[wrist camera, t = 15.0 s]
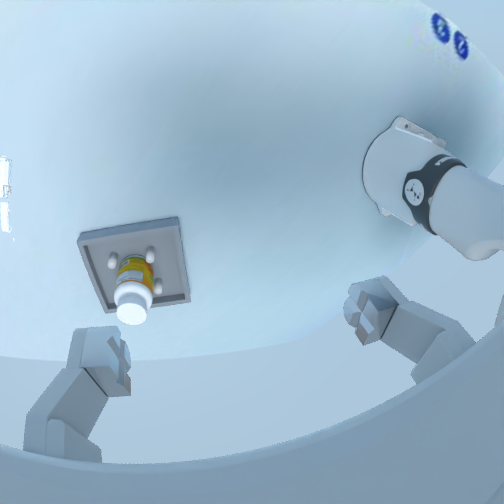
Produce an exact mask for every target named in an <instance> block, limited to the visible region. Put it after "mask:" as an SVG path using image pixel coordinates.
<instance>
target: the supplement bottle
mask: <svg viewBox="0 0 504 504" xmlns="http://www.w3.org/2000/svg"><path fill="white" fill-rule="evenodd" d="M152 299H153V266H152V264H151V263H147V262H146V258H145V257H143V256H139V255H132V256H128V257H126V258H125V259H124V260H123V261H122V262H121V264H120V267H119V271H118V276H117V281H116V286H115V291H114V301H115V304H116V305H117V316H118V318H119V319H120V320H121V321H122V322H124V323H126V324H129V325H138V324H141V323H143V322H144V321H145V319H146V317H147V310H148V309H149V308H150V307H151V305H152Z"/></svg>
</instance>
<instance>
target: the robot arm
mask: <svg viewBox="0 0 504 504" xmlns="http://www.w3.org/2000/svg"><path fill="white" fill-rule="evenodd" d="M446 143H447V142H446V141H445V140H443V139H441V138H439V137H436V136H435V135H433V134H431V133H430V132H428V131H426V130H425V129H423V128H421V127H419V126H417V125H416V124H414V123H412V122H410V121H408V120H406V119H405V118H402V117H397V118H396V119H395V120H394V122H393V123H392V125H391V127H390V128H389V129H388V130H386V131H385V132H383V133H382V134H381V135H379V136H378V137H377V138H376V139H375V141H374V142H373V143H372V145H371V146H370V148H369V150H368V152H367V155H366V158H365V161H364V166H363V182H364V186H365V189H366V192H367V193H368V195H369V196H370V198H371V199H372V200H374V201H375V202H376V203H377V205H378V209H379V211H380V213H381V214H382V215H384V216H389V215H394V216H396V217H397V218H399V219H401V220H402V221H404V222H405V223H407V224H409V225H411V226H414V225H417V224H419V225H421V227H422V228H423V229H425V230H426V231H429V232H430V233H432V234H433V235H439V236H440V237H441V238H442V239H444V240H445V241H446V242H447V243H449V244H450V245H451V246H452V247H453V248H455V249H456V250H457V251H458V252H460V253H461V254H462V255H463V256H464V257H465V258H467V259H469V260H473V261H479V260H484V259H487V258H489V257H491V256H492V255H493V254H495V253H496V252H498V251H499V250H503V251H504V186H503V185H501V184H498V183H496V182H494V181H492V180H490V179H488V178H486V177H484V176H481V175H480V174H478V173H475V172H473V171H472V170H470V169H468V168H467V167H466V166H465V165H464V164H463V163H462V162H460V161H459V160H458V159H456V158H455V156H454V155H452V154H451V153H449V152H447V151H446V150H445V146H446ZM348 294H349V295H350V296H349V297H348V298H347V300H346V301H345V303H344V307H343V310H344V316H345V318H346V321H347V322H348V324H349V325H351V326H353V327H355V334H356V335H357V337H358V338H359V340H360V341H361V343H362V344H363V346H364V345H366V344H369V343H372V342H375V341H378V340H381V341H382V342H384V343H385V344H387V345H388V346H390V347H391V348H393V349H395V350H396V351H398V352H399V353H401V354H402V355H404V356H405V357H407V358H409V359H410V360H412V361H413V362H415V363H416V364H417V365H416V366H415V367H414V368H413V370H412V371H411V376H412V378H413V379H414V381H415V382H416V384H417V385H415V386H413V387H412V388H410V389H408V390H406V391H404V392H403V393H401V394H399V395H397V396H395V397H394V398H392V399H390V400H388V401H386V402H384V403H382V404H380V405H378V406H376V407H374V408H372V409H370V410H368V411H366V412H363V413H361V414H359V415H357V416H355V417H352V418H350V419H348V420H345V421H343V422H341V423H338V424H335V425H333V426H330V427H328V428H325V429H322V430H320V431H317V432H314V433H311V434H308V435H305V436H302V437H299V438H296V439H293V440H290V441H286V442H283V443H279V444H276V445H272V446H268V447H264V448H261V449H256V450H252V451H247V452H243V453H238V454H232V455H227V456H222V457H215V458H209V459H201V460H193V461H184V462H172V463H156V464H112V463H102V457H101V449H100V448H99V447H98V446H97V445H95V444H94V443H92V442H91V441H89V440H88V437H89V434H90V433H91V431H92V428H93V427H94V425H95V423H96V421H97V419H98V417H99V415H100V414H101V412H102V410H103V408H104V406H105V404H106V402H107V401H108V397H119V396H130V395H131V379H130V377H129V376H128V374H127V372H128V371H129V369H130V368H131V360H130V353H129V350H128V346H127V344H126V342H125V341H123V340H122V339H120V336H121V332H120V331H119V329H118V327H117V326H105V327H90V328H78V329H75V331H74V332H73V336H72V341H71V345H70V350H69V355H68V360H67V366H66V369H62V370H61V371H60V372H59V374H58V375H57V376H56V377H55V379H54V380H53V381H52V382H51V384H50V385H49V386H48V387H47V389H46V390H45V391H44V392H43V394H42V395H41V396H40V398H39V399H38V400H37V401H36V403H35V404H34V406H33V407H32V408H31V409H30V411H29V412H28V414H27V416H26V424H25V433H24V446H23V447H24V448H23V450H19V449H16V448H12V447H9V446H5V445H2V444H0V504H504V295H503V298H502V301H501V304H500V307H499V311H498V314H497V318H496V321H495V327H494V328H493V329H492V330H491V331H490V332H489V333H487V334H486V335H485V336H484V337H483V338H482V339H480V340H479V341H478V342H477V343H476V342H475V341H474V340H473V338H472V337H471V336H470V335H469V334H468V332H467V331H466V330H465V329H464V328H463V327H462V325H461V324H460V323H459V322H458V321H456V320H454V319H452V318H449V317H447V316H445V315H443V314H440V313H438V312H436V311H434V310H432V309H429V308H427V307H425V306H423V305H421V304H419V303H416V302H414V301H409V300H408V299H407V298H406V297H405V296H404V295H403V294H402V293H401V292H400V290H399V289H398V288H397V287H396V286H395V285H394V284H393V283H392V282H391V281H390V280H389V279H388V278H387V277H386V276H381V277H377V278H373V279H369V280H365V281H362V282H358V283H354V284H352V285H351V286H350V287H349V290H348Z"/></svg>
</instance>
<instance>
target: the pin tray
mask: <svg viewBox="0 0 504 504" xmlns="http://www.w3.org/2000/svg"><path fill="white" fill-rule="evenodd" d="M77 245H78V248H79V250H80V253H81V256H82V259H83V261H84V264H85V267H86V269H87V272H88V274H89V277H90V279H91V282H92V284H93V287H94V289H95V291H96V294H97V296H98V298H99V300H100V303H101V305H102V307H103V309H104V311H105V313H114V312H117V305H116V304H115V301H114V291H115V286H116V281H117V276H118V271H119V267H120V264H121V262H122V261H123V260H124V259H125V258H126V257H128V256H132V255H139V256H143V257H145V258H146V262H147V263H151V264H152V266H153V299H152V305H151V307H150V308H154V307H161V306H168V305H175V304H182V303H189V302H191V298H190V291H189V286H188V280H187V274H186V269H185V263H184V257H183V250H182V244H181V237H180V231H179V224H178V217H175V218H168V219H161V220H155V221H148V222H142V223H135V224H129V225H123V226H117V227H111V228H106V229H100V230H95V231H89V232H84V233H81V234H80V236H79V238H78V240H77Z"/></svg>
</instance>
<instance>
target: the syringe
mask: <svg viewBox="0 0 504 504" xmlns="http://www.w3.org/2000/svg"><path fill="white" fill-rule="evenodd" d="M11 163H12V160H7V156H1V157H0V197H4V185H9V184H10V183H11ZM7 191H8V193H11V186H5V194H6V193H7ZM6 197H7V195H5V198H6ZM8 208H9V207H8V202H4V201H1V221H2V222H1V223H2V231H5V232H9V233H11V227H10V229H9V211H10V209H8ZM13 241H14V237H13Z"/></svg>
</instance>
